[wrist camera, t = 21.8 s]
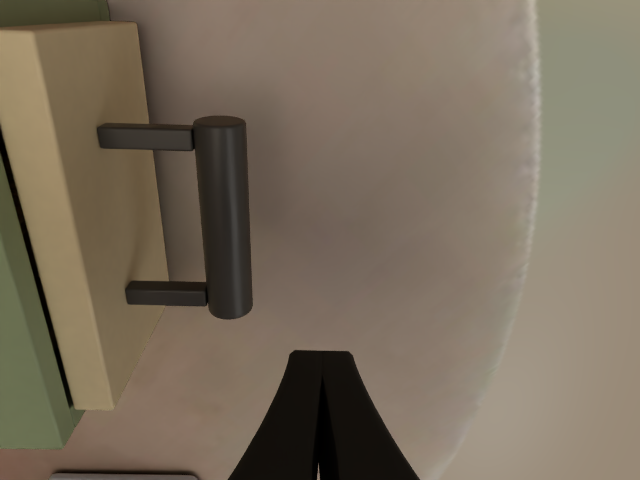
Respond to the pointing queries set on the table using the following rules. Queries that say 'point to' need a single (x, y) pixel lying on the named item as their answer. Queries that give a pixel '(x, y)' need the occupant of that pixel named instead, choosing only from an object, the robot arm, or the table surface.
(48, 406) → the cabinet
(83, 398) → the drawer
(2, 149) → the rock
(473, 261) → the table surface
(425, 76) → the table surface
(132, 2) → the table surface
